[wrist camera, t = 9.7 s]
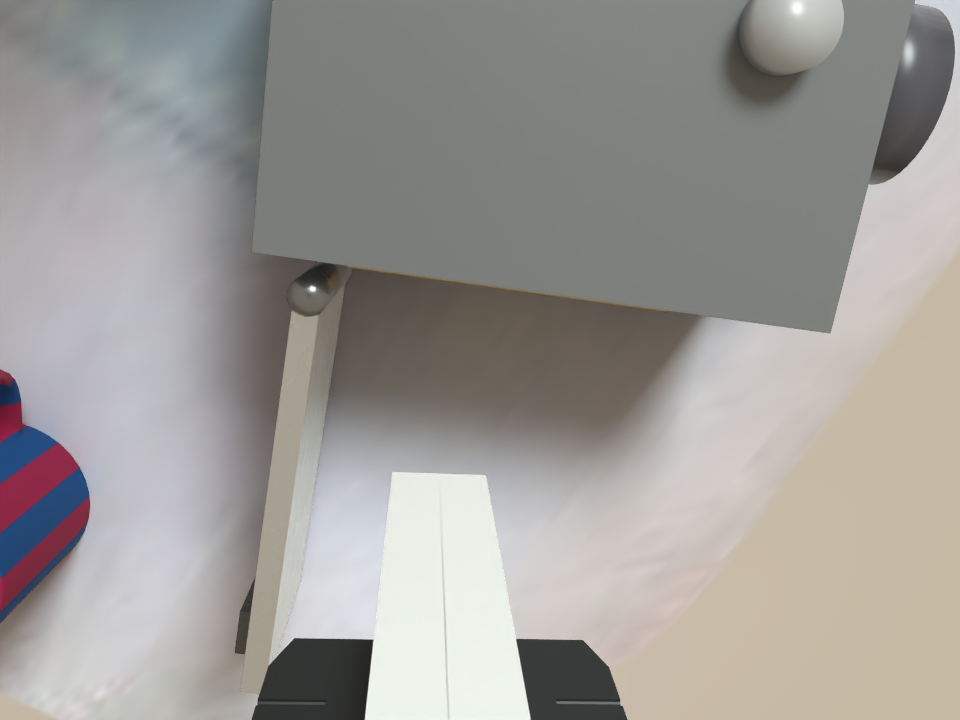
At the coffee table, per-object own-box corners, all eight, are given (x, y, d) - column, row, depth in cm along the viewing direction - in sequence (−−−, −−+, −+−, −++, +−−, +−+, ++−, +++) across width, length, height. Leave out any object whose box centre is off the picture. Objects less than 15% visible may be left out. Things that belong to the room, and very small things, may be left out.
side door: (315, 248, 30) (279, 271, 22) (354, 255, 30) (330, 280, 23) (270, 575, 33) (224, 689, 25) (305, 580, 33) (270, 695, 26)
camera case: (302, 236, 30) (242, 265, 20) (336, -107, 27) (284, -263, 18) (773, 304, 32) (923, 359, 22) (847, -11, 29) (1055, -106, 20)
